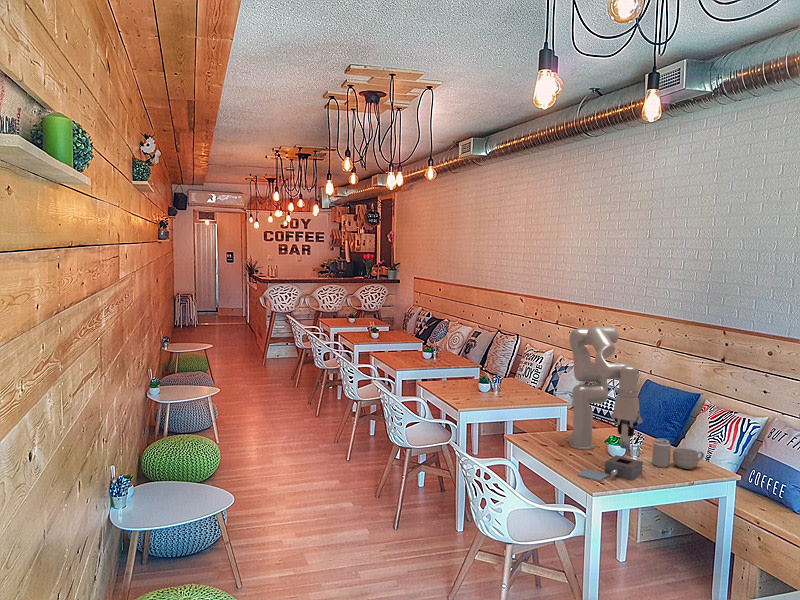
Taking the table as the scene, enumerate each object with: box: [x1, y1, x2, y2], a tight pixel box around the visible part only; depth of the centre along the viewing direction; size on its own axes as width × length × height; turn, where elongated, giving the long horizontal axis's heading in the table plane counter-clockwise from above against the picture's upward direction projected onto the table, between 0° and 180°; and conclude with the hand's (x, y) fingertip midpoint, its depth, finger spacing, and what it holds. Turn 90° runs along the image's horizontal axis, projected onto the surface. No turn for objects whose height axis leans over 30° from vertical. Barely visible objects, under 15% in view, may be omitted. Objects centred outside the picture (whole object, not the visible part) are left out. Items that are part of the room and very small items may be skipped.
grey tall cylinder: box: [619, 419, 631, 450], centre depth 267 cm, size 4×4×14 cm
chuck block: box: [604, 454, 643, 481], centre depth 266 cm, size 12×18×6 cm, turn 138°
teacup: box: [672, 447, 705, 470], centre depth 280 cm, size 14×11×8 cm
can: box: [651, 438, 672, 468], centre depth 281 cm, size 8×8×12 cm
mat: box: [577, 468, 610, 482], centre depth 264 cm, size 10×10×1 cm
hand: (625, 434), depth 267 cm, fingers closed on grey tall cylinder, 4 cm apart
